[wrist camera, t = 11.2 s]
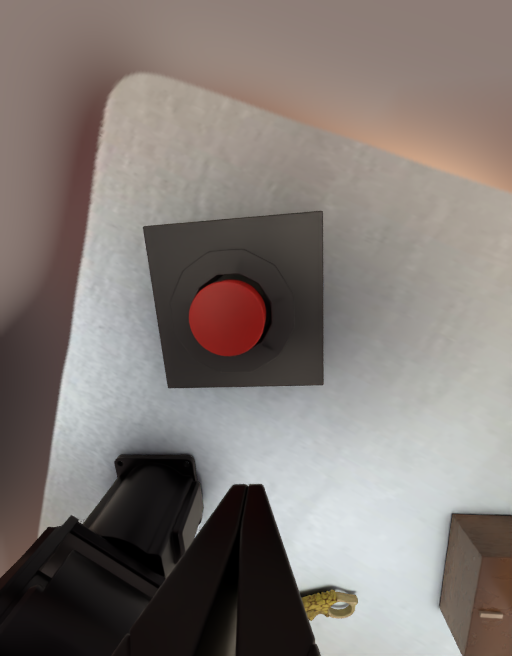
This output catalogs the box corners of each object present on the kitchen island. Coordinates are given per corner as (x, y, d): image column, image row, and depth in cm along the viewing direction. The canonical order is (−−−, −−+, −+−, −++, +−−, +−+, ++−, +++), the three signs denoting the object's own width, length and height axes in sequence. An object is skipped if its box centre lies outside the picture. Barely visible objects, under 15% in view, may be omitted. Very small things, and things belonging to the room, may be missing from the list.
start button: (203, 347, 14) (193, 358, 12) (195, 281, 13) (183, 283, 12) (268, 344, 14) (266, 355, 12) (264, 277, 13) (262, 278, 11)
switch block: (180, 374, 19) (154, 403, 15) (160, 231, 16) (123, 220, 12) (318, 371, 18) (329, 400, 14) (316, 218, 15) (329, 201, 11)
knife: (259, 683, 25) (218, 662, 24) (259, 668, 25) (220, 648, 25) (367, 610, 21) (322, 583, 20) (362, 596, 22) (320, 570, 21)
